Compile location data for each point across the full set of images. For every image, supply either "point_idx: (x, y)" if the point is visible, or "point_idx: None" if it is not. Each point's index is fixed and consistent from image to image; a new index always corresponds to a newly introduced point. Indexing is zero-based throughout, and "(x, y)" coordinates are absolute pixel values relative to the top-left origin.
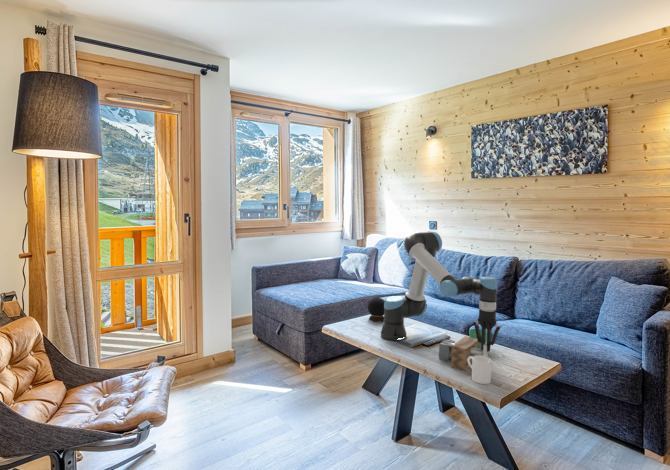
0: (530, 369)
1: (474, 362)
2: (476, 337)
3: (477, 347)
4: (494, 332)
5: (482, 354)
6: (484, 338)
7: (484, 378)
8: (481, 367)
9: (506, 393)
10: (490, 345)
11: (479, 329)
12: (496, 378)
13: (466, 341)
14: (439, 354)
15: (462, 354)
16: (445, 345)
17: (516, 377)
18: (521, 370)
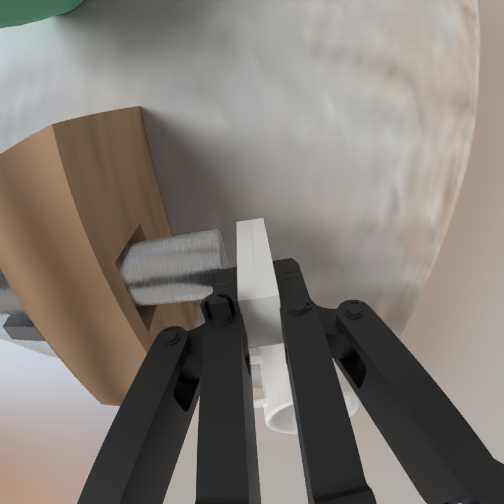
0: (442, 50)
1: (288, 424)
2: (9, 13)
3: (104, 145)
4: (414, 478)
5: (220, 240)
6: (250, 396)
7: None
8: None
9: None
10: (310, 299)
11: (131, 478)
12: (345, 279)
13: (55, 297)
14: None
15: None
16: (34, 338)
17: (418, 201)
18: (419, 90)
